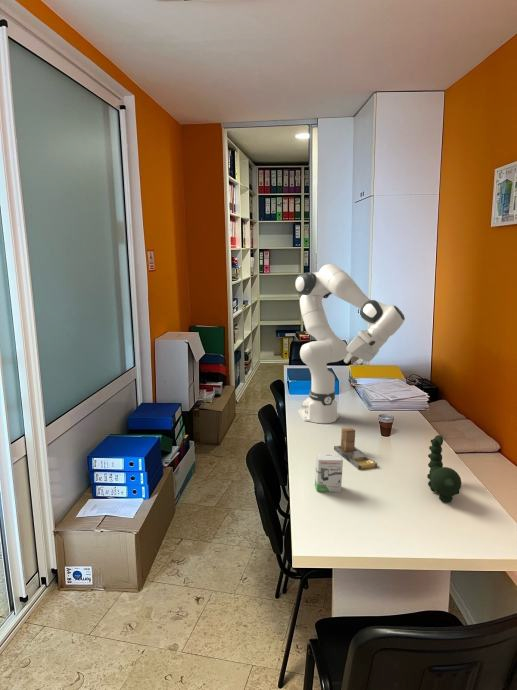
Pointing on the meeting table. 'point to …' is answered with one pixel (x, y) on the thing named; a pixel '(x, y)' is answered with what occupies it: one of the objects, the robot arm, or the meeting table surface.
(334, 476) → the ink box
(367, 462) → the tray
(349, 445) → the walnut peg
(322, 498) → the meeting table surface
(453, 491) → the toy figurine
